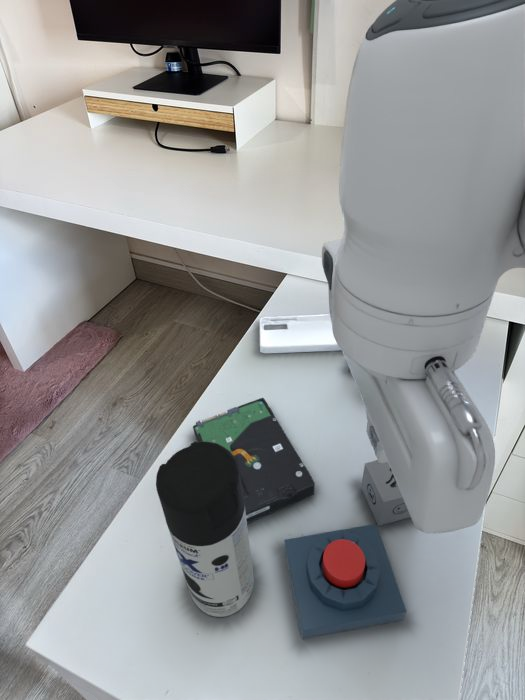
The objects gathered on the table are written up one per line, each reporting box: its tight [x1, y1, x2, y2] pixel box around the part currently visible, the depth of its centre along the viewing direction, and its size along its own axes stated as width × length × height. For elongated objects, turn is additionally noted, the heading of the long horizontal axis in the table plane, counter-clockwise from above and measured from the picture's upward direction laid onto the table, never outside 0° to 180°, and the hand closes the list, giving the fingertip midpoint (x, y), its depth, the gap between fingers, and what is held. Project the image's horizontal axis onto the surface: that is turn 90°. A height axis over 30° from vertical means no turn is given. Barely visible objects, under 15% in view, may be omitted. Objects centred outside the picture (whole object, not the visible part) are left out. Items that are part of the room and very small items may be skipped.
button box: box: [283, 523, 407, 640], centre depth 50 cm, size 10×9×4 cm
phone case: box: [259, 313, 342, 354], centre depth 79 cm, size 7×1×15 cm
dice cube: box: [360, 460, 411, 527], centre depth 57 cm, size 5×5×5 cm
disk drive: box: [192, 397, 316, 524], centre depth 62 cm, size 10×3×15 cm
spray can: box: [155, 441, 255, 618], centre depth 45 cm, size 7×7×20 cm
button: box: [322, 540, 365, 588], centre depth 49 cm, size 4×4×2 cm
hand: (382, 446), depth 40 cm, fingers closed
